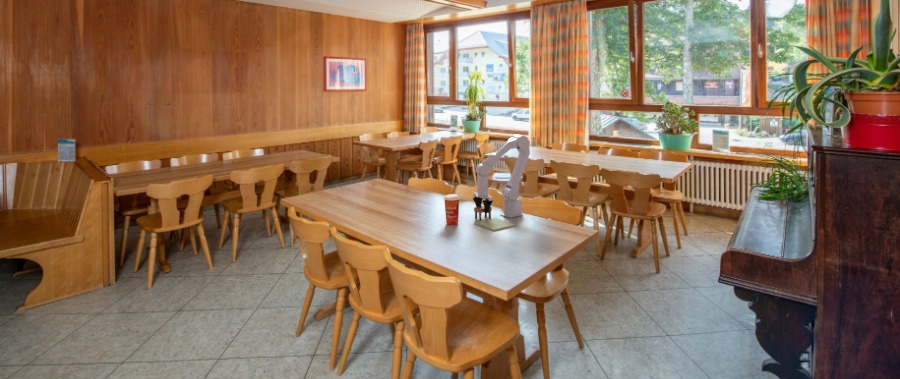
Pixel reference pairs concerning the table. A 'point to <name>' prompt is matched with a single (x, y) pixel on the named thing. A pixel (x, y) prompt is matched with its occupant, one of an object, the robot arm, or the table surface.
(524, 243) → the table surface
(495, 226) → the mat
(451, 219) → the coffee cup
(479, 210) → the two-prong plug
